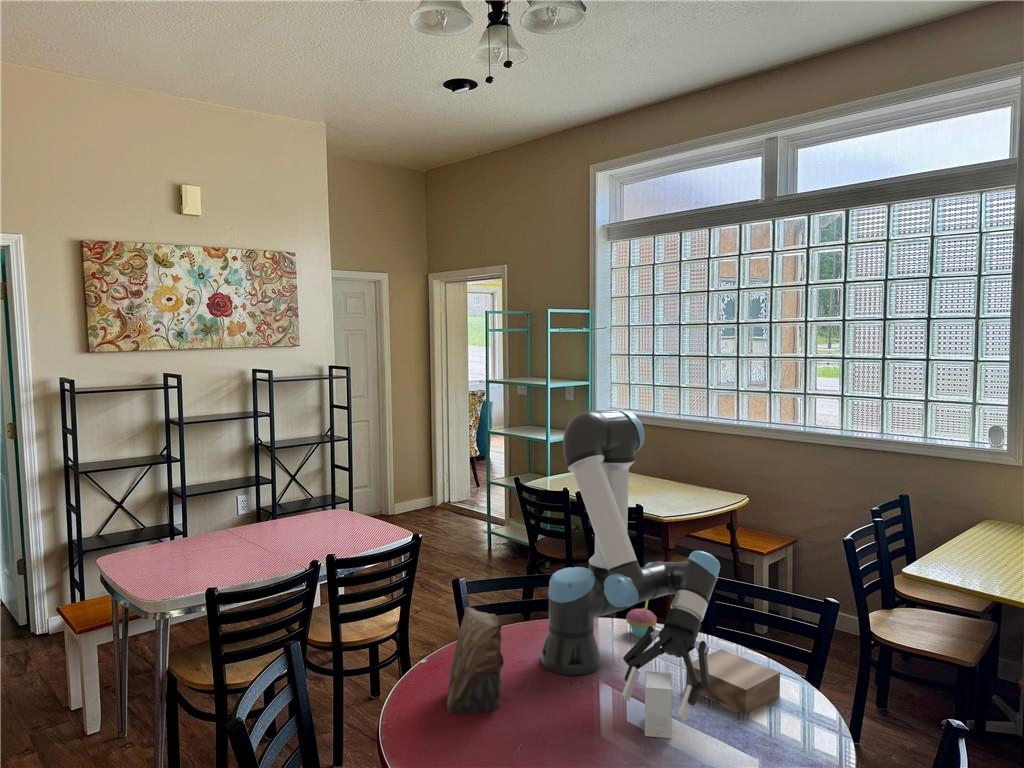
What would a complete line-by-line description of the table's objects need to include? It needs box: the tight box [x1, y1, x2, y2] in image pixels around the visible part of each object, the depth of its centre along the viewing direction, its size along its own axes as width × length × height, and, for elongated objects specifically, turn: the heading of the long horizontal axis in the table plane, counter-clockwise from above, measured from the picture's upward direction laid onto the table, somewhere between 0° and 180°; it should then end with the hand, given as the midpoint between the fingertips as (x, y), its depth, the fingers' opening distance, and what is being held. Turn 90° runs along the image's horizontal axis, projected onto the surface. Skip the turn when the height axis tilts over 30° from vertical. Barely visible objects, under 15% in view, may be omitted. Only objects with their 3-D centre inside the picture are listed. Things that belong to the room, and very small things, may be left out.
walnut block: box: [685, 648, 781, 716], centre depth 163 cm, size 16×14×6 cm
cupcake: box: [625, 600, 658, 638], centre depth 196 cm, size 9×8×12 cm
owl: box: [446, 606, 505, 715], centre depth 157 cm, size 13×13×20 cm
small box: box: [644, 670, 673, 740], centre depth 146 cm, size 8×6×10 cm
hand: (652, 708), depth 144 cm, fingers open, 12 cm apart
